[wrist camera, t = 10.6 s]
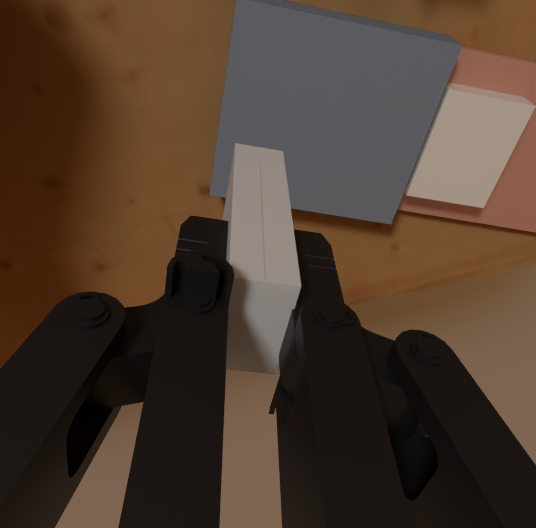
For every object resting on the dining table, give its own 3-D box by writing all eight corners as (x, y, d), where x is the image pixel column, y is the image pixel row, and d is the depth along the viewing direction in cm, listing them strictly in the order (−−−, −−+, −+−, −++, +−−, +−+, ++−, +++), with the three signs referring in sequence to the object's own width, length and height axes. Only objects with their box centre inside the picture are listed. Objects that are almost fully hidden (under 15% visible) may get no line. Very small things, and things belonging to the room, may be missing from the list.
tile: (400, 184, 44) (406, 195, 42) (440, 80, 38) (448, 89, 37) (475, 196, 44) (483, 208, 43) (524, 97, 39) (535, 106, 38)
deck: (212, 178, 44) (209, 195, 42) (238, -10, 35) (236, -3, 33) (384, 207, 46) (391, 224, 44) (449, 35, 37) (462, 45, 35)
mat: (386, 202, 46) (388, 208, 45) (446, 42, 38) (450, 46, 37) (535, 227, 48) (540, 233, 47) (624, 80, 39) (631, 84, 39)
